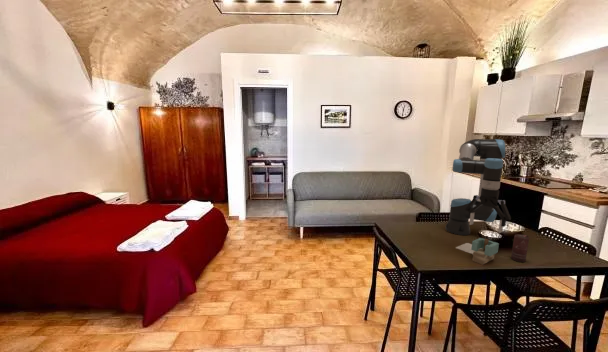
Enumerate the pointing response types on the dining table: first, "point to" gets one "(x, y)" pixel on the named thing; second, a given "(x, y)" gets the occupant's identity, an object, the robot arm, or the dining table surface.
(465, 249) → the felt mat
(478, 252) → the hook stand
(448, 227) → the robot arm
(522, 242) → the can
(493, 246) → the c link
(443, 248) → the dining table surface
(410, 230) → the dining table surface
